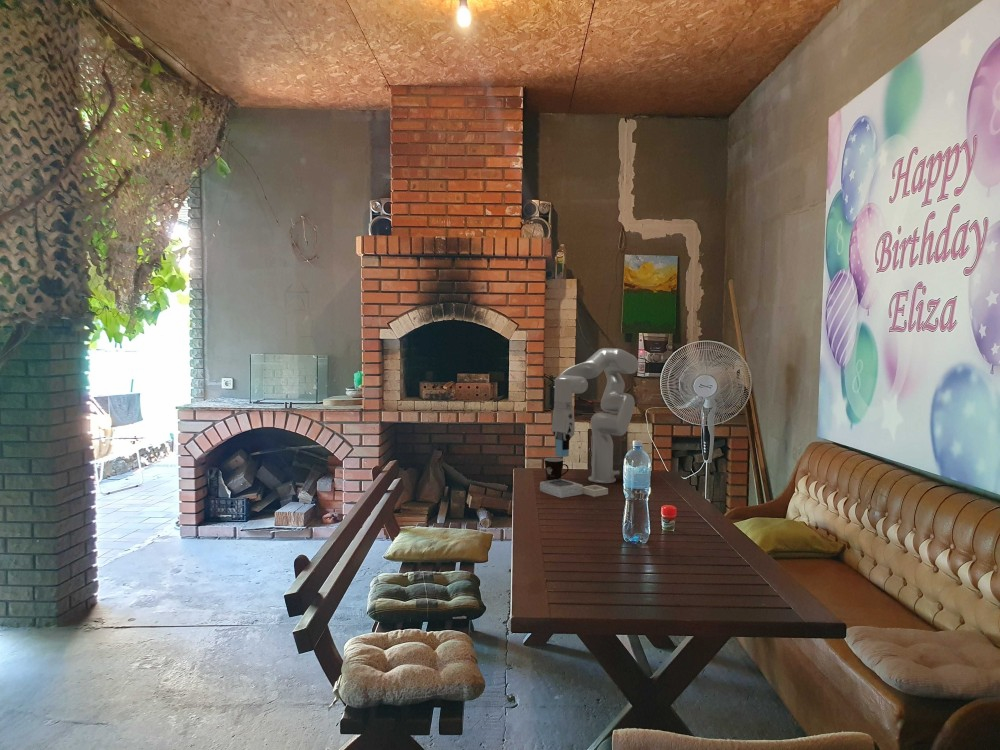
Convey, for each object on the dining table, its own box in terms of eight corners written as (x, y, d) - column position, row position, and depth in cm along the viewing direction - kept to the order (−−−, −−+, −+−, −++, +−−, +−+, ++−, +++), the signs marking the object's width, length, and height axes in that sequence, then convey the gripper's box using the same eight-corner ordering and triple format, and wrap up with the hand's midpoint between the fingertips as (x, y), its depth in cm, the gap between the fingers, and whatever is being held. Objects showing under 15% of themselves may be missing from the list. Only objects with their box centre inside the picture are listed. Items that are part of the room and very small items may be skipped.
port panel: (561, 487, 282) (561, 477, 282) (582, 494, 271) (582, 484, 271) (539, 491, 275) (540, 481, 275) (561, 498, 264) (561, 487, 264)
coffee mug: (540, 479, 297) (541, 458, 296) (556, 478, 300) (557, 457, 300) (553, 485, 286) (553, 463, 286) (569, 483, 290) (570, 461, 289)
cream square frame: (594, 490, 278) (595, 484, 278) (608, 494, 271) (608, 488, 271) (581, 492, 273) (581, 487, 273) (594, 496, 267) (594, 490, 266)
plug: (562, 454, 275) (562, 431, 274) (568, 456, 272) (569, 432, 271) (555, 455, 272) (555, 432, 272) (561, 457, 269) (562, 433, 269)
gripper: (583, 407, 266) (582, 450, 267) (556, 403, 280) (556, 445, 281) (569, 408, 262) (568, 452, 263) (543, 404, 275) (542, 446, 276)
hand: (562, 448), depth 272 cm, fingers closed on plug, 4 cm apart
